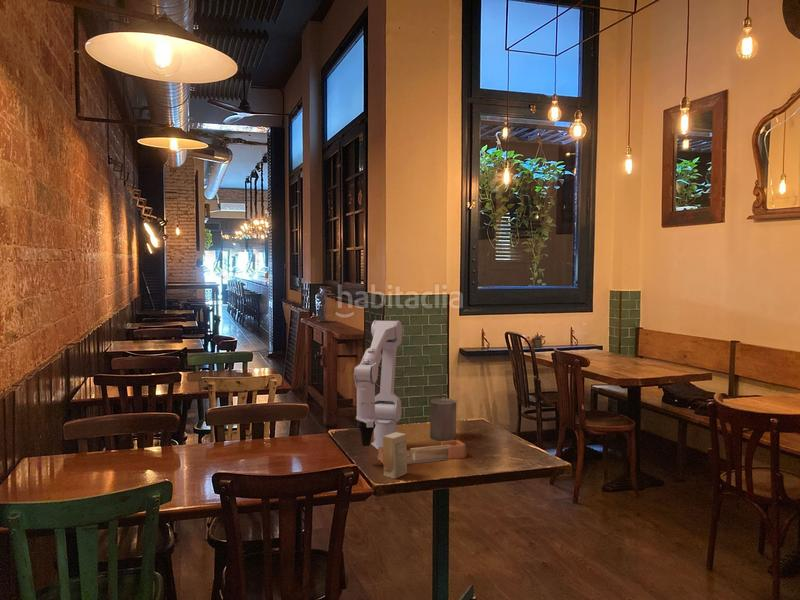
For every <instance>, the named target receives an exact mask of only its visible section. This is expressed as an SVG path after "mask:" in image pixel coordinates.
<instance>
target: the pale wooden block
mask: <svg viewBox="0 0 800 600" xmlns="http://www.w3.org/2000/svg"><path fill="white" fill-rule="evenodd" d="M448 446H452V445H450V444H448V445H441V444H440V445H431V446H422V447H421V446H420V447H412V448H411V447H410V453H411V456H410V459H411V460H412V461H413V460H423V459H433V458H443V457H448Z"/></svg>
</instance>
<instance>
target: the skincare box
mask: <svg viewBox="0 0 800 600" xmlns="http://www.w3.org/2000/svg"><path fill="white" fill-rule="evenodd" d="M407 445H408V444H407V433H403V432H398V431H397V432H394V433H391V434H388V435H385V436H383V461H384V464H383V477H385V476H386V478H389V477H390V478H389V479H393V478H394V480H395V479H398V478H400V477H402V476H404V475H407V474H408V464H407V461H408V459H407V458H408V456H407V453H408V450H407Z"/></svg>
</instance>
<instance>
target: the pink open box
mask: <svg viewBox="0 0 800 600" xmlns="http://www.w3.org/2000/svg"><path fill="white" fill-rule="evenodd" d="M448 444H450V445H452V446H448V460H451V459H452V458H454V459H461V458H462V459H463V458H467V444H465V443H464V442H462V441H460V440H458V439H453V440H447V441H441V440H440V445H448Z"/></svg>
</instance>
